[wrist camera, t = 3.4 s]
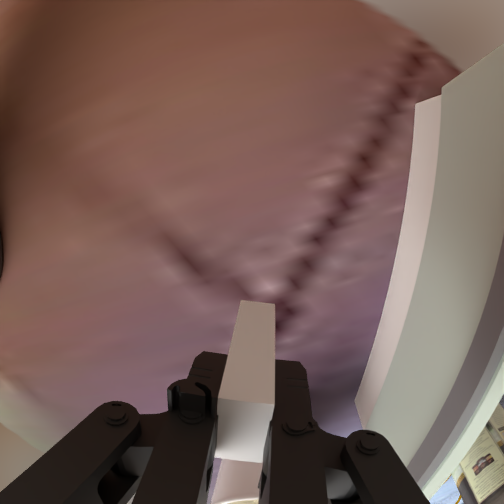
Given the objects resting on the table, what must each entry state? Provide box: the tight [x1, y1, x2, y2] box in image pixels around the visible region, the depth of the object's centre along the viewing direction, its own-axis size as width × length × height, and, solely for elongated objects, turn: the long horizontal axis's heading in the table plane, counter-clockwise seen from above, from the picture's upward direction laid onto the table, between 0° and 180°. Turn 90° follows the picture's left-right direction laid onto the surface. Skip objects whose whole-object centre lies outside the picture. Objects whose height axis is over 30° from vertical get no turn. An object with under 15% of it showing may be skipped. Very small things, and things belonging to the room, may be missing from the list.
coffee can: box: [451, 403, 504, 504], centre depth 23 cm, size 10×10×14 cm
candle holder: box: [210, 459, 263, 504], centre depth 25 cm, size 10×10×12 cm
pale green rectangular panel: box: [364, 43, 504, 501], centre depth 14 cm, size 12×28×1 cm
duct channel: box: [354, 95, 441, 430], centre depth 22 cm, size 12×28×6 cm, turn 174°
